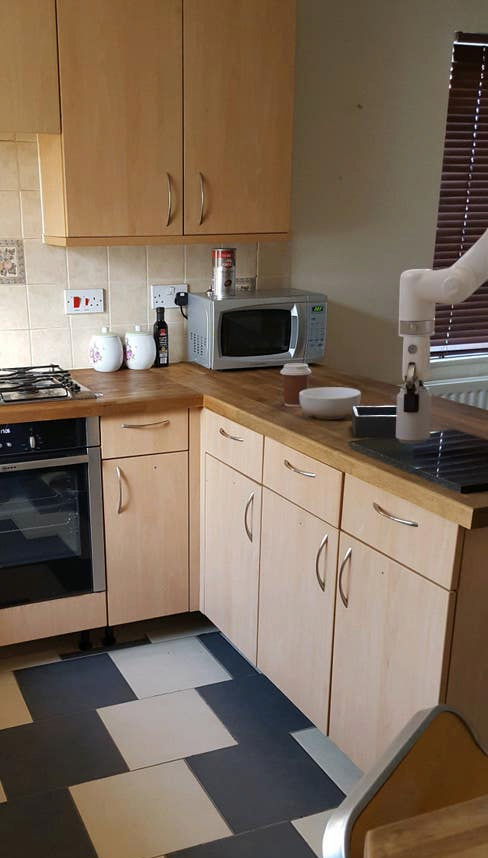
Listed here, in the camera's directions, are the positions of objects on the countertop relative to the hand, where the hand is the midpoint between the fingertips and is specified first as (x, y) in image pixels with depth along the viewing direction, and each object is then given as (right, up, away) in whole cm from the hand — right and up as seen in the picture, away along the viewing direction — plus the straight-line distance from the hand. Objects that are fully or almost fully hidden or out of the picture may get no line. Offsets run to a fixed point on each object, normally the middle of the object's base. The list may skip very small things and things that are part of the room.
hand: (413, 408), depth 196 cm
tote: (-1, -2, +27) cm, 27 cm away
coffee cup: (-17, +11, +67) cm, 70 cm away
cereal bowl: (-10, +5, +48) cm, 49 cm away
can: (0, -7, +2) cm, 8 cm away
